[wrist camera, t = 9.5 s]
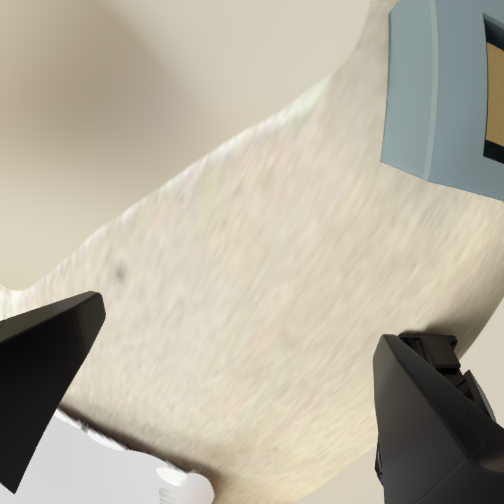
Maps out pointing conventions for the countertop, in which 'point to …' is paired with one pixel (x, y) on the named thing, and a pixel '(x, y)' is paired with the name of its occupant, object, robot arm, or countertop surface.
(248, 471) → the countertop surface
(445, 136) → the coin box
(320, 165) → the countertop surface
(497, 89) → the block
